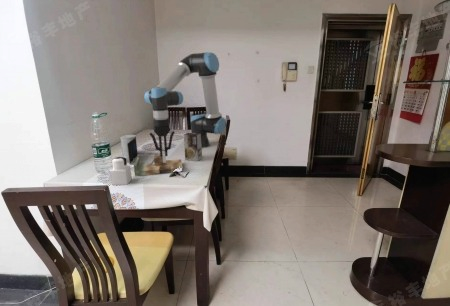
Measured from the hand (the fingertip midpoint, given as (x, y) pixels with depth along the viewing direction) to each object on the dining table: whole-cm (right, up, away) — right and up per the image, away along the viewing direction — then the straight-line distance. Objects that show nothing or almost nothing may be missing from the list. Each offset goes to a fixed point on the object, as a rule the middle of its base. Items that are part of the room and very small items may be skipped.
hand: (164, 161), depth 129 cm
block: (-3, -1, +1) cm, 3 cm away
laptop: (-17, 0, +17) cm, 24 cm away
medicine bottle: (-16, -9, -16) cm, 24 cm away
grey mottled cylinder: (-30, +4, +29) cm, 42 cm away
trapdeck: (-3, -4, +1) cm, 5 cm away
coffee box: (+14, +1, +18) cm, 23 cm away
